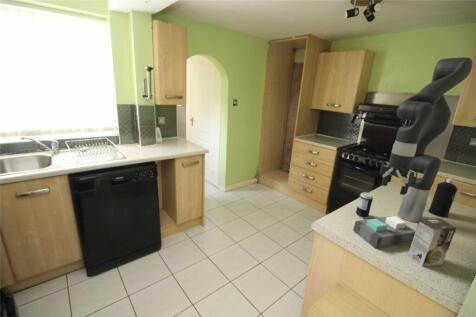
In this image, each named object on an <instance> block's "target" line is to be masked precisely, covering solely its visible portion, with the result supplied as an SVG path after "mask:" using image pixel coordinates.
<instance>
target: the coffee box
mask: <svg viewBox="0 0 476 317" xmlns="http://www.w3.org/2000/svg"><path fill="white" fill-rule="evenodd" d="M456 230H457V227H456V226H454V225H452V224H450V223H449V222H448V221H445V220H443V219H442V218H441V217H440V218H439V217H436V218H421V219H420V220H419V222H417V227H416V229H415V231H416V232H415V235H414V238H413V241H412V242H411V243H410V244H411V245H410V248H409V250H408V253H407V255H408V257H410V259H412V260H414V262H416V263H417V264H418V265H419V266H421V267H431V266H441V265H443V264H444V261H445V259H446V257H447V253H448V251H449V248H450V245H451V243H452V240H453V238H454V235H455V232H456Z"/></svg>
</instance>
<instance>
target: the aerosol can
mask: <svg viewBox="0 0 476 317" xmlns="http://www.w3.org/2000/svg"><path fill="white" fill-rule="evenodd" d="M453 181H454V180H453V179H452V178H447V180H446V181H444V182H443V181H442V182H439V183H437V184H436V188H435V192H434V194H433V198H432V200H431V203H430V206H429V209H428V210H427V211H428V213H430V214H431V215H433V216H436V217H438V218H439V217H440V218H448V217H449V214H450V210H451V208H452V205H453V203H454V200H455V198H456V195H457V191H458V190H459V188H458V187H457V186H456V185H455V184H454V183H453Z"/></svg>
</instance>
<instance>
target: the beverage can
mask: <svg viewBox="0 0 476 317" xmlns="http://www.w3.org/2000/svg"><path fill="white" fill-rule="evenodd" d="M358 197H359V198H358V202H357V205H356V206H357V207H356V210H355V214H356V215H357V216H358V217H359V218H362V219H367V218H368V217H369V215H370V211H371V207H372V204H373V200H374V197H373V194H372V193H370V192H365V191H364V192H360V194H359V196H358Z"/></svg>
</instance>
